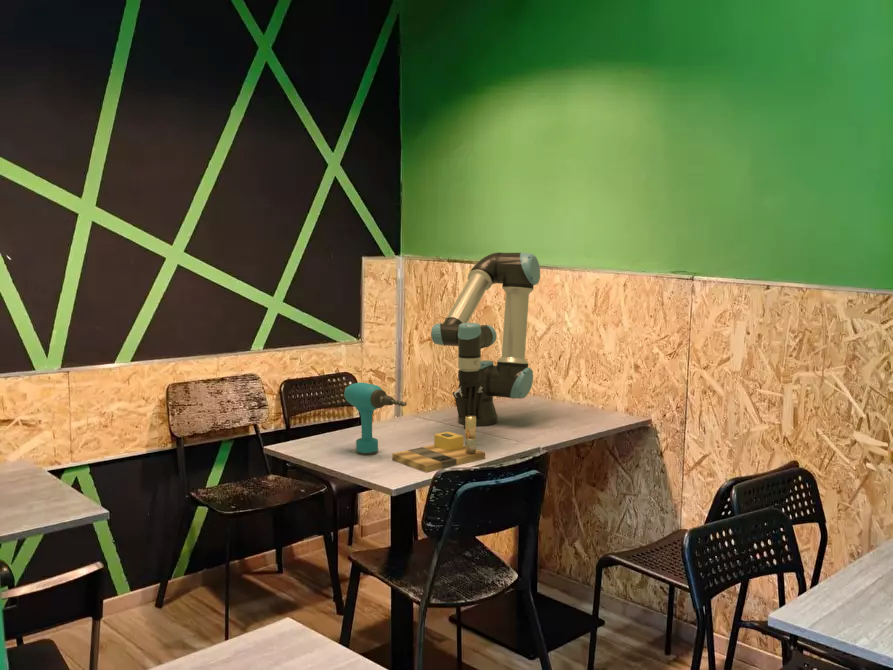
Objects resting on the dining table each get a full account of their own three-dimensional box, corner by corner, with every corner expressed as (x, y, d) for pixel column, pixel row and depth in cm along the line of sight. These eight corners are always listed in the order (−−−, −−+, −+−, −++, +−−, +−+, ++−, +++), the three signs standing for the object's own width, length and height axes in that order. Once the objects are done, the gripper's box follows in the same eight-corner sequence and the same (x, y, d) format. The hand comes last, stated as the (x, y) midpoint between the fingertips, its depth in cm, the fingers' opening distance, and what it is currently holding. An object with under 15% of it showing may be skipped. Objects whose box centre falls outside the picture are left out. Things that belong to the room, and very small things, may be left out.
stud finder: (434, 446, 282) (434, 433, 282) (448, 443, 286) (448, 430, 285) (449, 451, 276) (449, 438, 276) (463, 448, 280) (463, 435, 279)
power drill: (416, 460, 273) (415, 389, 270) (396, 466, 266) (396, 393, 263) (358, 445, 292) (356, 378, 288) (338, 450, 285) (337, 382, 282)
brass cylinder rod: (463, 452, 274) (463, 416, 273) (471, 450, 276) (471, 414, 275) (470, 454, 272) (470, 418, 270) (478, 453, 274) (478, 416, 272)
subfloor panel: (392, 459, 274) (392, 453, 274) (450, 446, 289) (450, 441, 288) (426, 472, 260) (426, 466, 260) (485, 458, 275) (485, 452, 275)
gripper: (461, 373, 276) (461, 443, 279) (491, 368, 284) (491, 437, 288) (447, 370, 282) (447, 439, 285) (476, 365, 290) (476, 433, 293)
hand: (469, 438), depth 286 cm, fingers closed
